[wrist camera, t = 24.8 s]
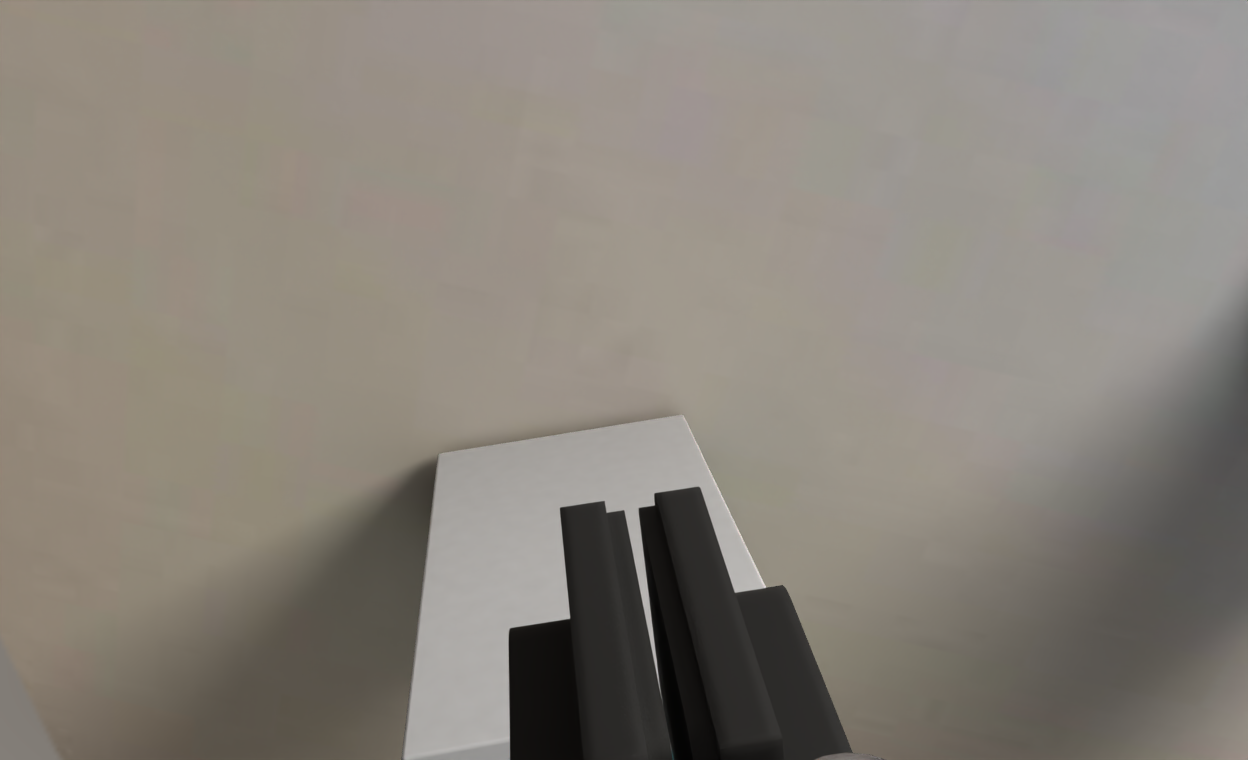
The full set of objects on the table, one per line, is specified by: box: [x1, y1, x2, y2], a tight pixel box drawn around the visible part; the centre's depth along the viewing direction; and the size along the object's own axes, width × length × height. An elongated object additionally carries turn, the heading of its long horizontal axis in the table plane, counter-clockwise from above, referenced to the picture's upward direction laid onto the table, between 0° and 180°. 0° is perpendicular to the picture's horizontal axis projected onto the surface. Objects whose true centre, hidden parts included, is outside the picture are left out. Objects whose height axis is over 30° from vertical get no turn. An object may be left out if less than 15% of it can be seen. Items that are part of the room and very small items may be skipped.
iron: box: [401, 415, 766, 760], centre depth 25 cm, size 13×7×9 cm
